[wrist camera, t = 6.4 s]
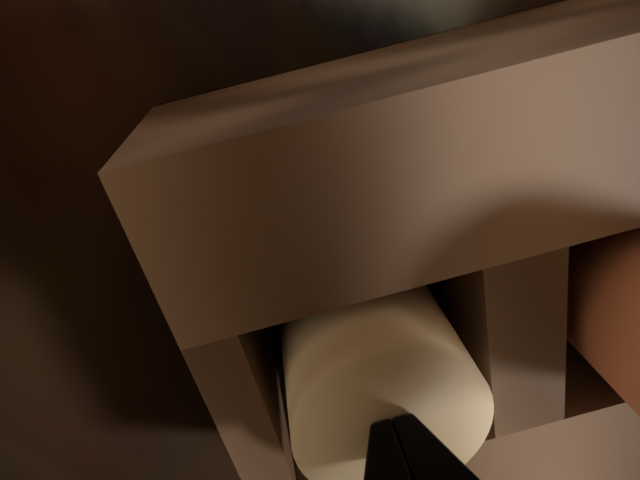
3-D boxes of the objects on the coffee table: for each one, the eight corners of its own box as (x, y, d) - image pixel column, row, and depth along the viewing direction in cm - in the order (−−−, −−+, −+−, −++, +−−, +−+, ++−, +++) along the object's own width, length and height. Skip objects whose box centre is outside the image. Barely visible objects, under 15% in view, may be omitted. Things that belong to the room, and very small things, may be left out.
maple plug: (295, 361, 15) (317, 520, 10) (259, 249, 13) (266, 384, 8) (422, 327, 15) (498, 470, 10) (404, 211, 13) (487, 324, 8)
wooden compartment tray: (279, 435, 17) (290, 585, 13) (153, 106, 12) (97, 173, 7) (806, 292, 18) (991, 390, 13) (925, -93, 12) (1313, -143, 8)
